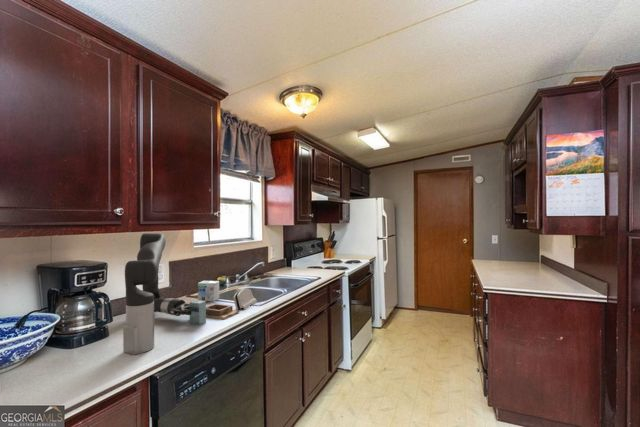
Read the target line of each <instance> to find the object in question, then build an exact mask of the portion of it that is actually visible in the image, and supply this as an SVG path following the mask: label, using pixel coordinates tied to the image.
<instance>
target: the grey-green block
mask: <svg viewBox="0 0 640 427" xmlns="http://www.w3.org/2000/svg"><path fill="white" fill-rule="evenodd" d="M189 303H190V310H191V311H192V314H191V315H189V324H190V325H195V326H201V325H203V324H206V323H207V317H206V307H207V305H206V304H207V301H200V300H198V299H195V300H191V301H190V302H189Z"/></svg>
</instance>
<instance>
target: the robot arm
mask: <svg viewBox="0 0 640 427" xmlns="http://www.w3.org/2000/svg"><path fill="white" fill-rule="evenodd" d="M166 242H167V241H166V237H165V234H162V233H143V234H142V233H141V235H140V240H139V251H138V253H137V255H136V259H137V260H128V261H127V262H126V263H125V265H124V266H125V267H124V282H125V325H123V327H122V334H123V336H122V342H123V343H122V347H123V349H122V350H123V353H125V354H130V355H133V356H134V355H138V354H142V353H145V352H146V353H147V352H149V351H151V350H152V349H154V348H155V313H161V314H166V315H171V316H174V317H175V316H176V317H180V316H184V315H186V316H190V315H191V314H192V311H191V310H190V302H186V301H185V300H183V299H182V298H171V297H170V298H169V297H162V296H161V294H160V288H159V270H160V269H159V267H160V262H161V259H162V256H163V251H164V250H165V247H166ZM137 286H142V290H141V289H139V288H138V287H137Z"/></svg>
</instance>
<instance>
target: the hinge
mask: <svg viewBox="0 0 640 427" xmlns="http://www.w3.org/2000/svg"><path fill="white" fill-rule="evenodd" d="M232 298H233V302H234V306H235V309H236V310H235V311H239V310H240V309H242V308H243V310H244V311H246V310H247V309H249V308H250V307H251V306H250V305H251V304H253V303H254V304H256V303H257V302H258V300H257V298H255V297H254V295H253V293H252V290H251V289H250V288H243V289H240V290H238V291H237V292H236V293H235V294H234V296H232ZM254 304H253V305H254ZM249 306H250V307H249ZM248 307H249V308H248Z"/></svg>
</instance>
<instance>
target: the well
mask: <svg viewBox="0 0 640 427" xmlns="http://www.w3.org/2000/svg"><path fill="white" fill-rule="evenodd" d="M239 312H240V311H239V310H235V309H233V305H228V304H221V303H213V304H211V305H208V306H207V305H206V318H210V319H211V318H212V319H217V318H218V320H226V319H228V318H231V317H233V316H235V315H237V314H240V313H239Z"/></svg>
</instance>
